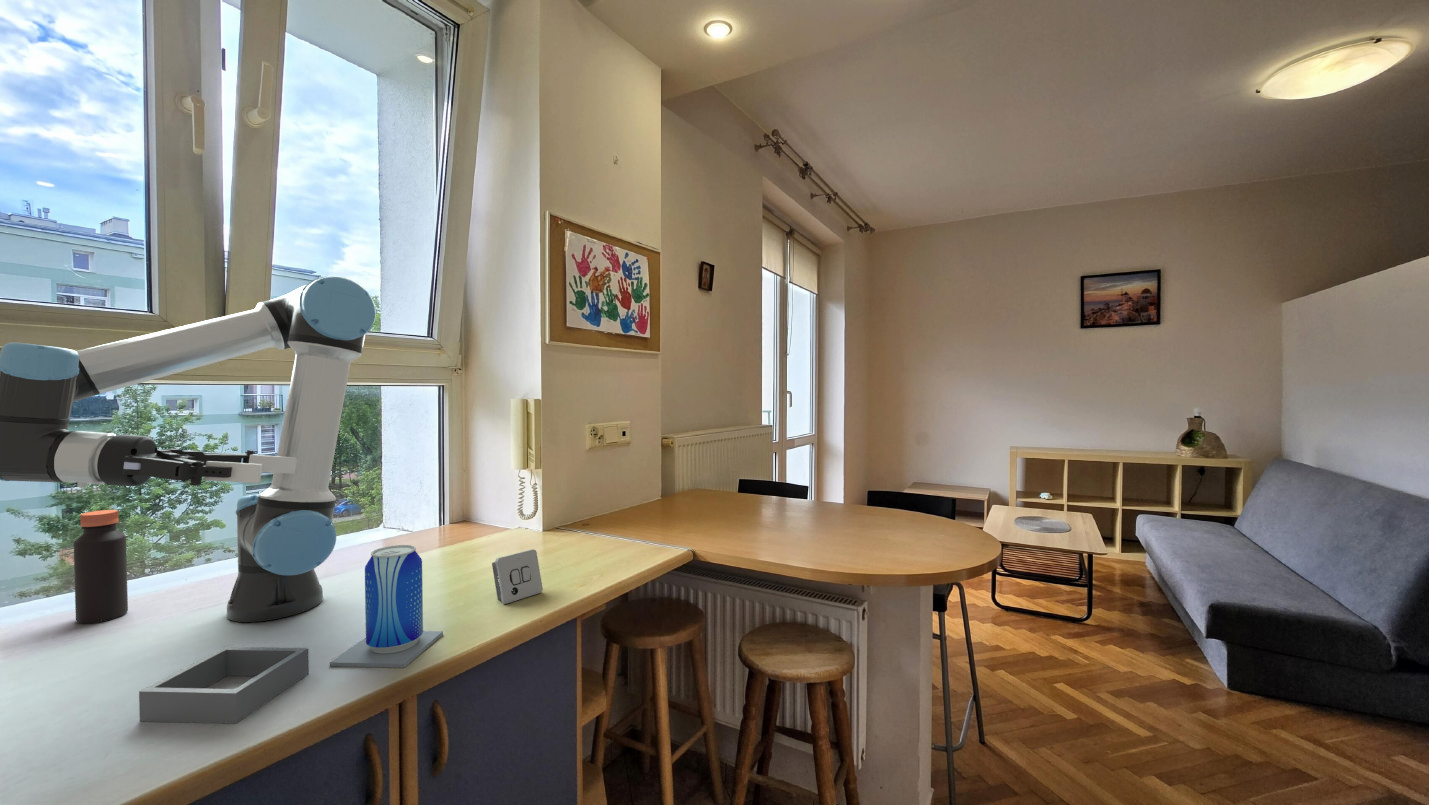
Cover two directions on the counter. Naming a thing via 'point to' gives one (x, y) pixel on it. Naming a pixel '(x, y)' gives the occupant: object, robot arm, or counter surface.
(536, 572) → the electrical switch
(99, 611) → the bottle
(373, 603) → the beer can
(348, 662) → the coaster mat
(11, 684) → the counter surface
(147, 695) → the grey storage bin
